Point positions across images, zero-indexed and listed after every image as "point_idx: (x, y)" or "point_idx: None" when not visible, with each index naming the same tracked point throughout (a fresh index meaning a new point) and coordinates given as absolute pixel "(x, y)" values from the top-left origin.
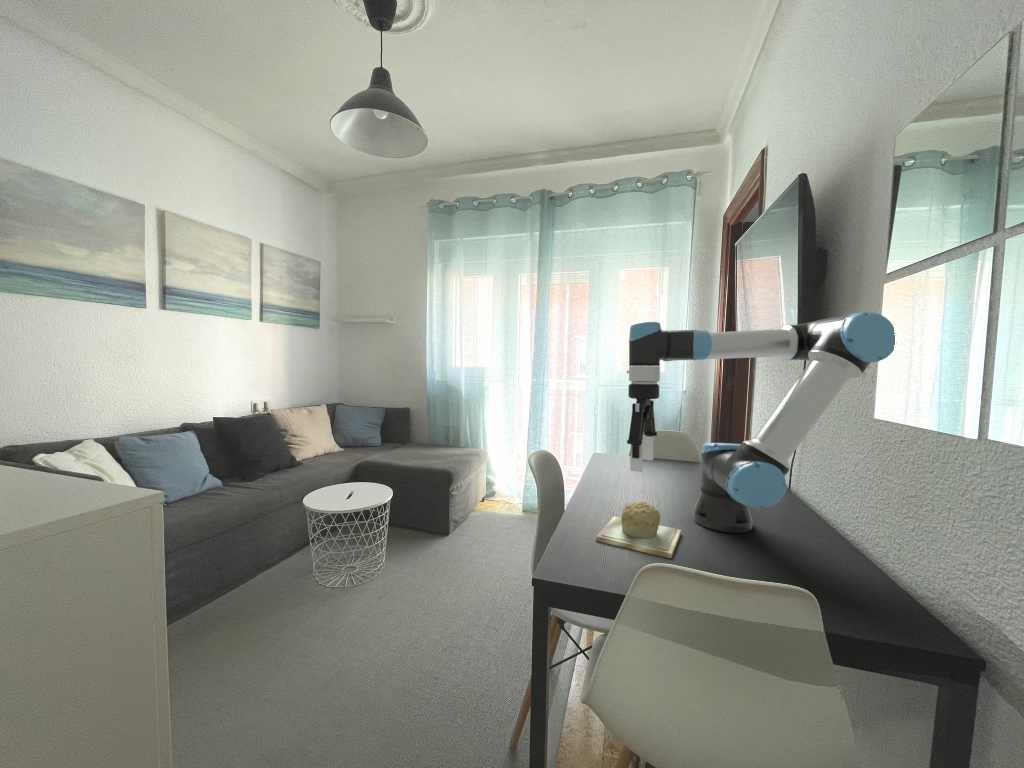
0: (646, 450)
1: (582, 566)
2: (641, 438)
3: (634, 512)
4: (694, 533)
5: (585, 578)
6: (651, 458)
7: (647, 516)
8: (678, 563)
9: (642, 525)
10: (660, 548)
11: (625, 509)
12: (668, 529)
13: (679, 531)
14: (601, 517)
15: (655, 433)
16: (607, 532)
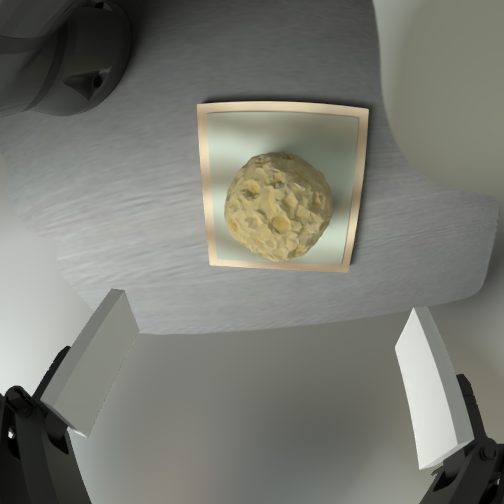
0: (112, 356)
1: (448, 259)
2: (480, 480)
3: (320, 229)
4: (174, 78)
5: (477, 246)
6: (121, 304)
7: (322, 189)
8: (379, 94)
9: (330, 192)
10: (357, 134)
11: (296, 255)
12: (218, 131)
13: (210, 105)
14: (212, 284)
15: (16, 403)
16: (321, 257)
